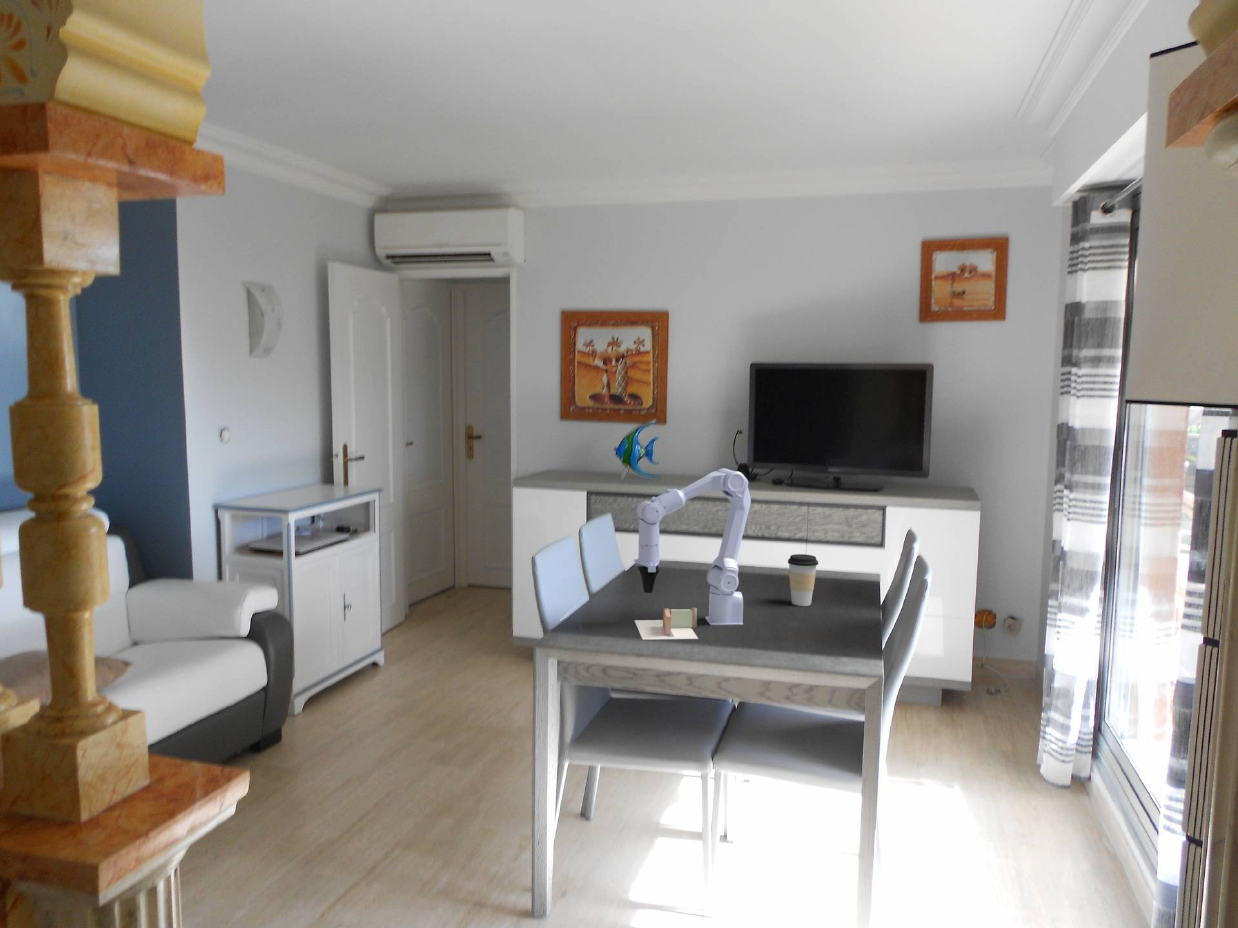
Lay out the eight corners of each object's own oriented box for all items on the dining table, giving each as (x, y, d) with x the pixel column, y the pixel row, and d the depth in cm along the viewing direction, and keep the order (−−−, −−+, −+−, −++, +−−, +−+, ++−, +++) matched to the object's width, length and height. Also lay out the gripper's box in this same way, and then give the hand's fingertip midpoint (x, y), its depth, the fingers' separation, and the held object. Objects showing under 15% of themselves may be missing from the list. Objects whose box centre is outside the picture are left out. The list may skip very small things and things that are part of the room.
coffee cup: (782, 605, 274) (784, 557, 272) (790, 598, 282) (792, 552, 281) (813, 608, 270) (814, 560, 268) (819, 602, 278) (821, 555, 277)
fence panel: (662, 625, 246) (663, 608, 246) (669, 625, 246) (669, 608, 246) (664, 634, 238) (665, 616, 237) (671, 634, 238) (671, 616, 237)
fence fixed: (695, 626, 247) (696, 607, 247) (697, 627, 246) (697, 608, 245) (669, 626, 246) (670, 607, 246) (670, 628, 245) (671, 609, 244)
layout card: (685, 620, 254) (685, 619, 254) (698, 639, 235) (698, 637, 235) (634, 621, 253) (634, 619, 253) (642, 640, 234) (642, 638, 234)
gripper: (631, 539, 252) (630, 586, 253) (637, 549, 237) (636, 598, 239) (656, 539, 252) (655, 586, 254) (663, 549, 238) (662, 598, 239)
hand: (648, 592), depth 246 cm, fingers closed
